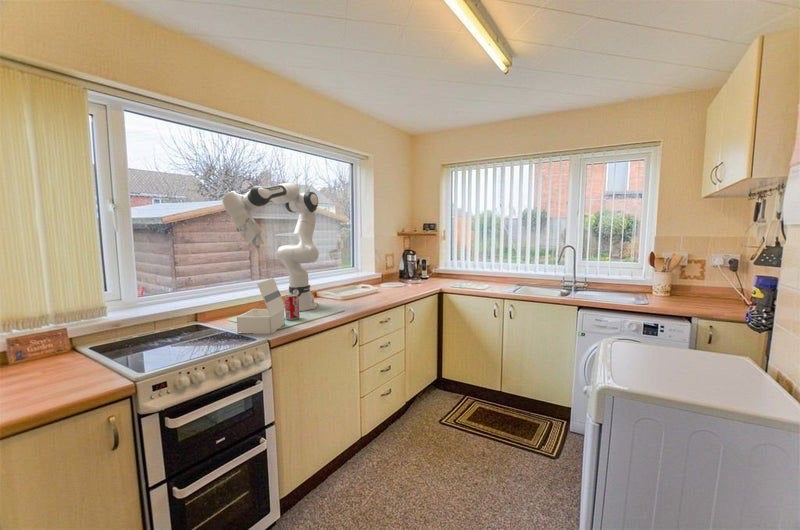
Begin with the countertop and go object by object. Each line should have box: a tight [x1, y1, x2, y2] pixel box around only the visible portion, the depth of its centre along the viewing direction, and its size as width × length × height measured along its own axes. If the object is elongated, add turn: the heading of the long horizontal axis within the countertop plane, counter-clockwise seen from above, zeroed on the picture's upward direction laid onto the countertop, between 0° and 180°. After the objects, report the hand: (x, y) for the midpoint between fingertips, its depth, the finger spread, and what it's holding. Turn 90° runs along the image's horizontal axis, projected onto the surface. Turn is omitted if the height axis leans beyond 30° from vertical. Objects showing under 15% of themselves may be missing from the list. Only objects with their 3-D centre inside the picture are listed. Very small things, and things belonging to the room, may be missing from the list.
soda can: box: [284, 293, 300, 321], centre depth 186 cm, size 7×7×13 cm
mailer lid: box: [256, 278, 286, 316], centre depth 166 cm, size 16×16×1 cm
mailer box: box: [236, 308, 285, 335], centre depth 168 cm, size 16×16×8 cm
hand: (260, 246), depth 173 cm, fingers open, 8 cm apart
